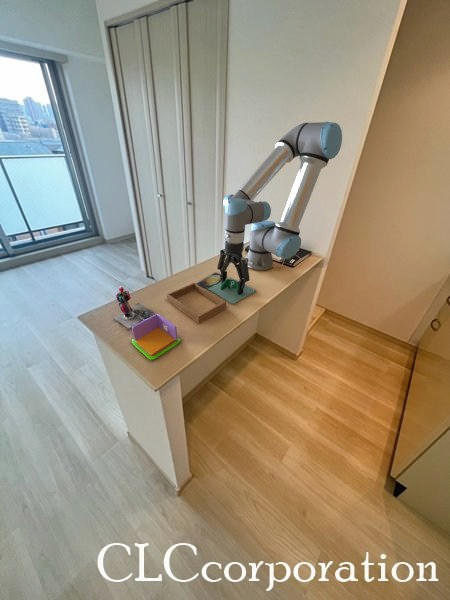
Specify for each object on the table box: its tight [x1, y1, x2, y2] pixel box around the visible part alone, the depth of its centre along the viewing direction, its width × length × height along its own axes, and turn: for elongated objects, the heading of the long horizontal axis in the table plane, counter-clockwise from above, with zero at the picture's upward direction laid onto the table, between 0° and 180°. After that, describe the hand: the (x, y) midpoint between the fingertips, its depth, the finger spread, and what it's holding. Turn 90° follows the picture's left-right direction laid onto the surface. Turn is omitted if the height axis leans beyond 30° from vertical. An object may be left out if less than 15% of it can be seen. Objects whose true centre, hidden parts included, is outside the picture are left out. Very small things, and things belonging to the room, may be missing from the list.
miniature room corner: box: [131, 313, 181, 361], centre depth 77 cm, size 12×12×7 cm
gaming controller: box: [220, 277, 240, 293], centre depth 106 cm, size 9×4×6 cm
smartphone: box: [196, 272, 222, 291], centre depth 114 cm, size 7×1×15 cm
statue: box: [113, 286, 155, 331], centre depth 85 cm, size 11×9×15 cm
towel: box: [207, 277, 257, 305], centre depth 107 cm, size 15×16×1 cm
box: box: [166, 282, 227, 324], centre depth 97 cm, size 14×20×3 cm
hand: (232, 289), depth 107 cm, fingers closed on gaming controller, 9 cm apart
